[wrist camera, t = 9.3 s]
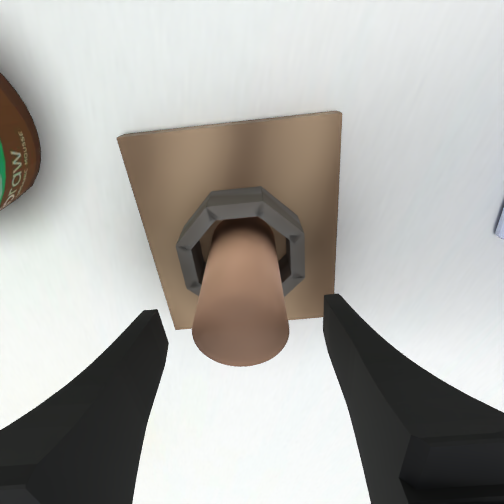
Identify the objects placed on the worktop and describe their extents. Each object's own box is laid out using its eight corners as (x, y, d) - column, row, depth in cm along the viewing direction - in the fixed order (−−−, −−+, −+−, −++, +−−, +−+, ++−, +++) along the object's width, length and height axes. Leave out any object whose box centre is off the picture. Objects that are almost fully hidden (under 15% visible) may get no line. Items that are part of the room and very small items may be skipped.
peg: (280, 218, 19) (299, 301, 12) (267, 272, 21) (278, 370, 14) (215, 209, 18) (195, 289, 11) (209, 264, 20) (189, 361, 13)
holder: (336, 110, 17) (357, 118, 13) (329, 305, 24) (342, 341, 20) (124, 134, 17) (96, 146, 14) (178, 319, 24) (168, 355, 21)
